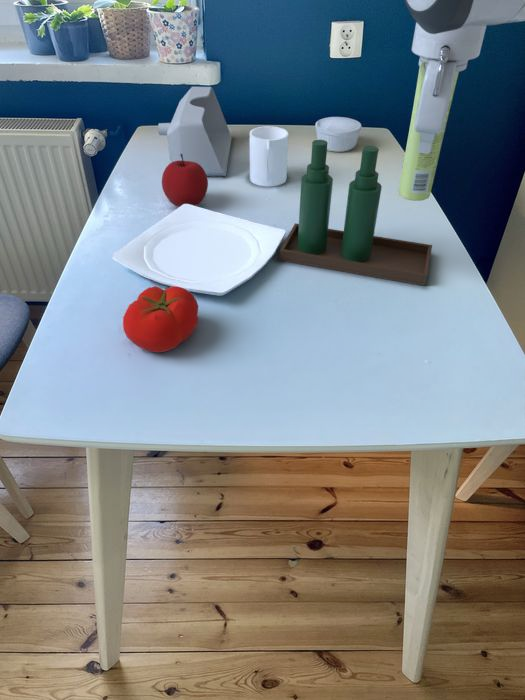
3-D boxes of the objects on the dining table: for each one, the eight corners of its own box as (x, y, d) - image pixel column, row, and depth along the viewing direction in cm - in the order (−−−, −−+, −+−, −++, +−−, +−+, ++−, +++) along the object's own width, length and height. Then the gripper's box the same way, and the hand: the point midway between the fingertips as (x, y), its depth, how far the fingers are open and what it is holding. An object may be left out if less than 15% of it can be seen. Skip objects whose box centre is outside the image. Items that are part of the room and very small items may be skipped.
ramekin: (308, 139, 139) (309, 118, 135) (349, 135, 141) (351, 114, 137) (322, 155, 130) (324, 133, 127) (365, 151, 133) (368, 130, 129)
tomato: (116, 350, 77) (108, 314, 73) (153, 307, 85) (148, 271, 80) (177, 366, 75) (172, 330, 70) (210, 320, 82) (207, 285, 78)
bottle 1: (328, 242, 99) (339, 138, 86) (322, 257, 95) (332, 150, 82) (301, 238, 100) (307, 134, 87) (294, 252, 96) (299, 146, 84)
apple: (157, 210, 109) (151, 162, 102) (173, 191, 115) (168, 144, 109) (200, 216, 107) (197, 167, 101) (214, 196, 114) (212, 149, 107)
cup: (248, 193, 115) (247, 146, 108) (250, 170, 124) (250, 125, 117) (286, 194, 115) (288, 147, 108) (286, 171, 124) (288, 126, 117)
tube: (400, 184, 88) (425, 52, 75) (432, 189, 87) (462, 55, 74) (395, 199, 84) (420, 62, 71) (428, 204, 83) (460, 65, 70)
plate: (294, 242, 100) (295, 229, 98) (226, 313, 84) (225, 299, 82) (184, 212, 108) (183, 199, 107) (103, 271, 92) (100, 257, 90)
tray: (429, 255, 97) (432, 244, 96) (424, 286, 90) (427, 275, 88) (294, 233, 102) (294, 223, 101) (279, 260, 95) (279, 250, 94)
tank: (169, 136, 139) (164, 84, 131) (231, 137, 139) (230, 85, 131) (153, 177, 121) (146, 120, 112) (225, 178, 120) (222, 120, 112)
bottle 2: (372, 250, 97) (389, 144, 84) (367, 265, 93) (385, 157, 81) (344, 245, 98) (356, 140, 85) (338, 260, 94) (350, 152, 82)
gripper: (470, 59, 63) (443, 174, 72) (474, 25, 77) (451, 123, 87) (415, 55, 64) (395, 168, 73) (429, 21, 79) (411, 119, 88)
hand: (425, 143), depth 80 cm, fingers closed on tube, 5 cm apart
